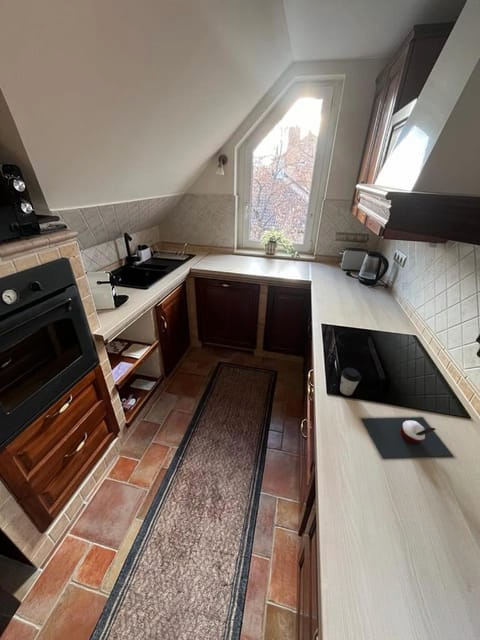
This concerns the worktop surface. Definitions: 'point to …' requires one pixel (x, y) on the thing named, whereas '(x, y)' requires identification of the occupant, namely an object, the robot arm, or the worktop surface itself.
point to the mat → (395, 446)
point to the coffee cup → (349, 381)
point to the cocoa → (414, 431)
